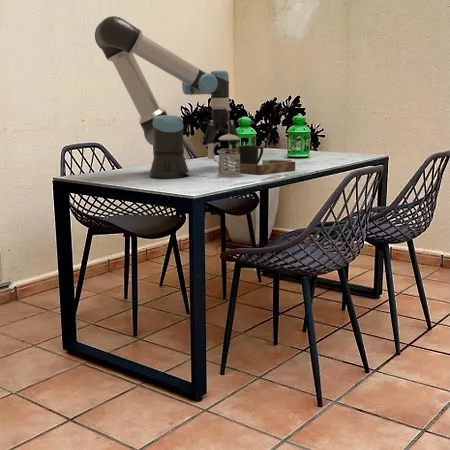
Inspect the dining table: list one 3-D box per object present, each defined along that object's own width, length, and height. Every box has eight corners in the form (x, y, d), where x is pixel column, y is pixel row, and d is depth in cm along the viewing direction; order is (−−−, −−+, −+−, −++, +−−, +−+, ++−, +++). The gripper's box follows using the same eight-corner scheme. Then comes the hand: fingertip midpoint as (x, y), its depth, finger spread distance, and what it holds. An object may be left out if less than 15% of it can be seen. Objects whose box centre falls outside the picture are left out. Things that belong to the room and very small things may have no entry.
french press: (246, 176, 234) (245, 107, 229) (215, 177, 231) (214, 107, 226) (238, 173, 243) (237, 107, 239) (208, 175, 240) (207, 107, 235)
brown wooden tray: (258, 174, 238) (258, 165, 238) (235, 172, 247) (235, 163, 247) (295, 170, 253) (295, 161, 252) (271, 168, 262) (271, 160, 261)
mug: (269, 168, 261) (269, 145, 259) (247, 171, 253) (246, 147, 252) (256, 167, 267) (256, 144, 265) (234, 169, 260) (233, 146, 258)
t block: (286, 168, 264) (286, 160, 263) (262, 167, 269) (262, 160, 268) (293, 166, 271) (293, 159, 270) (269, 165, 276) (269, 158, 275)
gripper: (248, 108, 260) (248, 160, 264) (207, 108, 278) (208, 157, 282) (234, 108, 255) (236, 161, 259) (194, 109, 273) (195, 158, 277)
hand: (221, 159), depth 271 cm, fingers open, 13 cm apart
